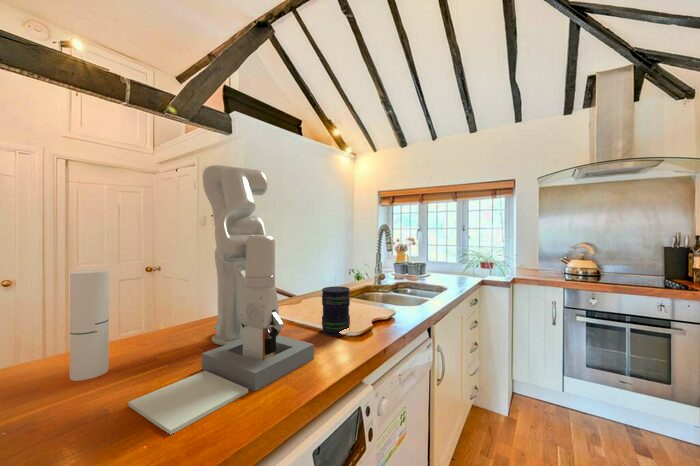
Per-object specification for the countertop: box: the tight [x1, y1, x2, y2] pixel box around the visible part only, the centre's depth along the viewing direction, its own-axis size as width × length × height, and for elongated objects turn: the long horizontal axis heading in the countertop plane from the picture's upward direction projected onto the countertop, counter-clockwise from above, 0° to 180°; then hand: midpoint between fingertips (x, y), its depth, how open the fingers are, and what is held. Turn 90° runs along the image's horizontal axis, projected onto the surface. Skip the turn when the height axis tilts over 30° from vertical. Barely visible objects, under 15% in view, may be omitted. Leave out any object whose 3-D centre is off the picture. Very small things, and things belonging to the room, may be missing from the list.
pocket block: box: [201, 334, 315, 392], centre depth 78 cm, size 20×20×4 cm
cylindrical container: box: [69, 269, 110, 382], centre depth 72 cm, size 7×7×25 cm
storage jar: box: [321, 286, 351, 337], centre depth 104 cm, size 10×10×15 cm
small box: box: [243, 325, 276, 362], centre depth 78 cm, size 8×6×10 cm
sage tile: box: [128, 370, 249, 436], centre depth 61 cm, size 16×16×1 cm
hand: (260, 349), depth 78 cm, fingers closed on small box, 7 cm apart
